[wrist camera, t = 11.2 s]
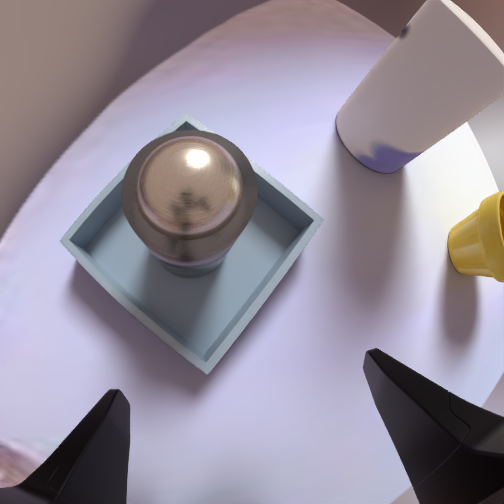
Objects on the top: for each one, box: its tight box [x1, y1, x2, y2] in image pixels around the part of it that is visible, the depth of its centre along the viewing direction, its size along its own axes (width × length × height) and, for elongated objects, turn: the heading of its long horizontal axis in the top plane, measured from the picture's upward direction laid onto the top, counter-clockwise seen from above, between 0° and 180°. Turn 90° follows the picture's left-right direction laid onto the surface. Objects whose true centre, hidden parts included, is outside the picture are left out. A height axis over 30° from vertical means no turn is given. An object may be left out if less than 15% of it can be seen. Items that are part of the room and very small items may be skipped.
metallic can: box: [121, 130, 258, 278], centre depth 16 cm, size 6×6×12 cm
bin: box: [60, 113, 324, 375], centre depth 21 cm, size 14×14×4 cm
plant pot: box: [448, 191, 504, 282], centre depth 25 cm, size 10×10×10 cm
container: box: [336, 0, 504, 173], centre depth 20 cm, size 10×10×20 cm
